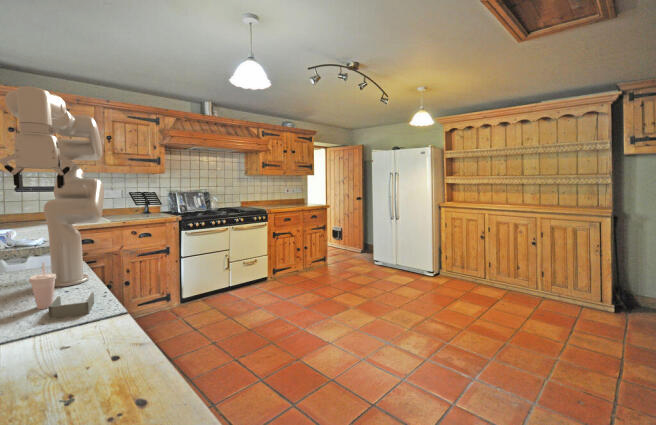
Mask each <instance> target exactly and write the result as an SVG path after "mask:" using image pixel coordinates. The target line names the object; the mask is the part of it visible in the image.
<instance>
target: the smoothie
mask: <svg viewBox="0 0 656 425" xmlns="http://www.w3.org/2000/svg"><path fill="white" fill-rule="evenodd" d="M41 264H42V265H41V266H42V267H41V268H42V273H40V274H35V275H33V276H30V277H29V283H30V284H31V289H32V293H33V296H34V301H35V304H36V308H37V309H38V310H44V309H49V306H50V305H51V304H52V303H53V301H54V294H55V287H54V285H55V278H56V274H52V272H51V273H46V267H45V266H46V264H45V262H43V261H42V263H41Z"/></svg>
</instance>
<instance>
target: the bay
mask: <svg viewBox="0 0 656 425" xmlns="http://www.w3.org/2000/svg"><path fill="white" fill-rule="evenodd" d="M93 304H94V305H95V294H94V292H91V293H90V294H89V296H88V298H87V300H86V301H85V302H75V303H74V302H73V303H68V304H67V303H66V304H61V295H60V296H57V297H56V298H55V299H53V303H52V304H51V305H50V306H49V308H48V316H49V318H48V320H53V319H52V318H54V319H60V317H62V318H67V317H68V316H69V317H75V316H74V315H77V316H81V315H82V316H84V315H90V312H91V310H92V309H93V306H94V305H93ZM83 314H84V315H83ZM69 317H68V318H69Z"/></svg>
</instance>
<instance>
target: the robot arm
mask: <svg viewBox="0 0 656 425" xmlns="http://www.w3.org/2000/svg"><path fill="white" fill-rule="evenodd" d="M4 100H5V105H6V108H7V110H8V111H9V112H10V113H11V115H13V116H14V117H15V118H16V119H18V129H19V130H18V131H19V133H17V134H16V136H15V142H14V153H13V154H11V155H8V156H5V157H2V158H0V163H1V164H2V166H3V167H4V169H5V170H6V171H8V172H9V173H10V174H11V175H12V176H13V186H15V188H16V189H22V188H24V184H23V183H24V182H23V181H24V180H23V175H22V174H21V173H22V172H23V171H24V170H25V169H30V170H31V169H32V170H33V169H40V170H54V172H56V173H57V175H56V179H55V183H54V186H53V187H54V188H53V196H54V198H55V199H54V198H53V199H50V200H47V202H45V204H44V205H43V213H44V218H45V222H46V225H47V231H48V242H49V256H50V268H51V269H50V270H51V273H52V274H56V278H55V285H54V288H55V287H57V288H58V287H69V286H74V285H79V284H82V283H85V282H87V281H88V280H89V278H90V276H89V275H88V274H85V273H84V261H83V259H84V258H83V245H82V242H83V241H82V234H81V232H80V230H78V229H77V228H76V227H75V226H74V225H81V224H84V225H85V224H96V223H98V222H100V221H101V219H102V216H103V212H104V211H103V210H104V209H103V208H104V199H105V188H104V184H103V182H102V181H101V180H100V179H98V178H92V177H84V176H85V172H84V170H83V169H82V167H80V166H79V165H78V164H76V163H75V161H92V162H93V161H100V160H101V158H102V157H103V145H102V140H101V136H100V131H99V128H98V124H97V122H96V121H95V119H94V118H93V117H92V116H89V115H78V114H77V115H76V114H71V113H70V112H69V111H68V109H67V105H66V102H65V101H64V100H63V99H62V97H60V96H59V94H56V93H50V92H49V91H48V90H46V89H44V88H40V87H35V86H26V85H25V86H24V85H23V86H18V88H16V90H10V91H9V92H7V93H6V96H5V99H4ZM54 134H57V135H59V136H62V137H68V138H57V137H56V136H54ZM69 137H70V138H69ZM72 137H73V138H72ZM79 138H81V139H79ZM82 138H85V139H82ZM11 161H14V164H15V166H16V167H13V166H12V165H11V164H10V162H11Z"/></svg>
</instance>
